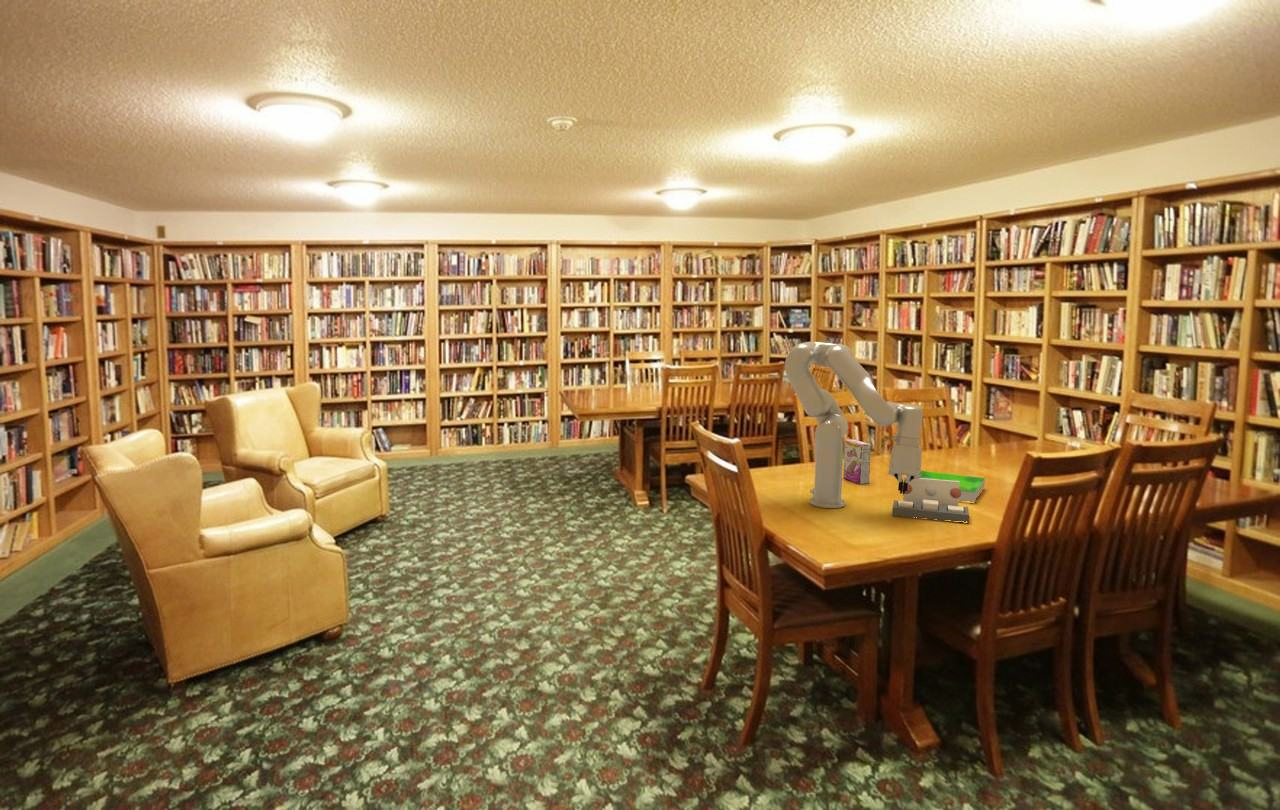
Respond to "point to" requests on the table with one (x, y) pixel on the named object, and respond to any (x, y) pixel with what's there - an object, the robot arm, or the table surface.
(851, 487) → the table surface
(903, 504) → the button
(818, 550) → the table surface
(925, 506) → the middle button
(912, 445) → the robot arm
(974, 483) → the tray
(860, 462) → the candy bar box
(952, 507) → the button
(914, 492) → the button panel
